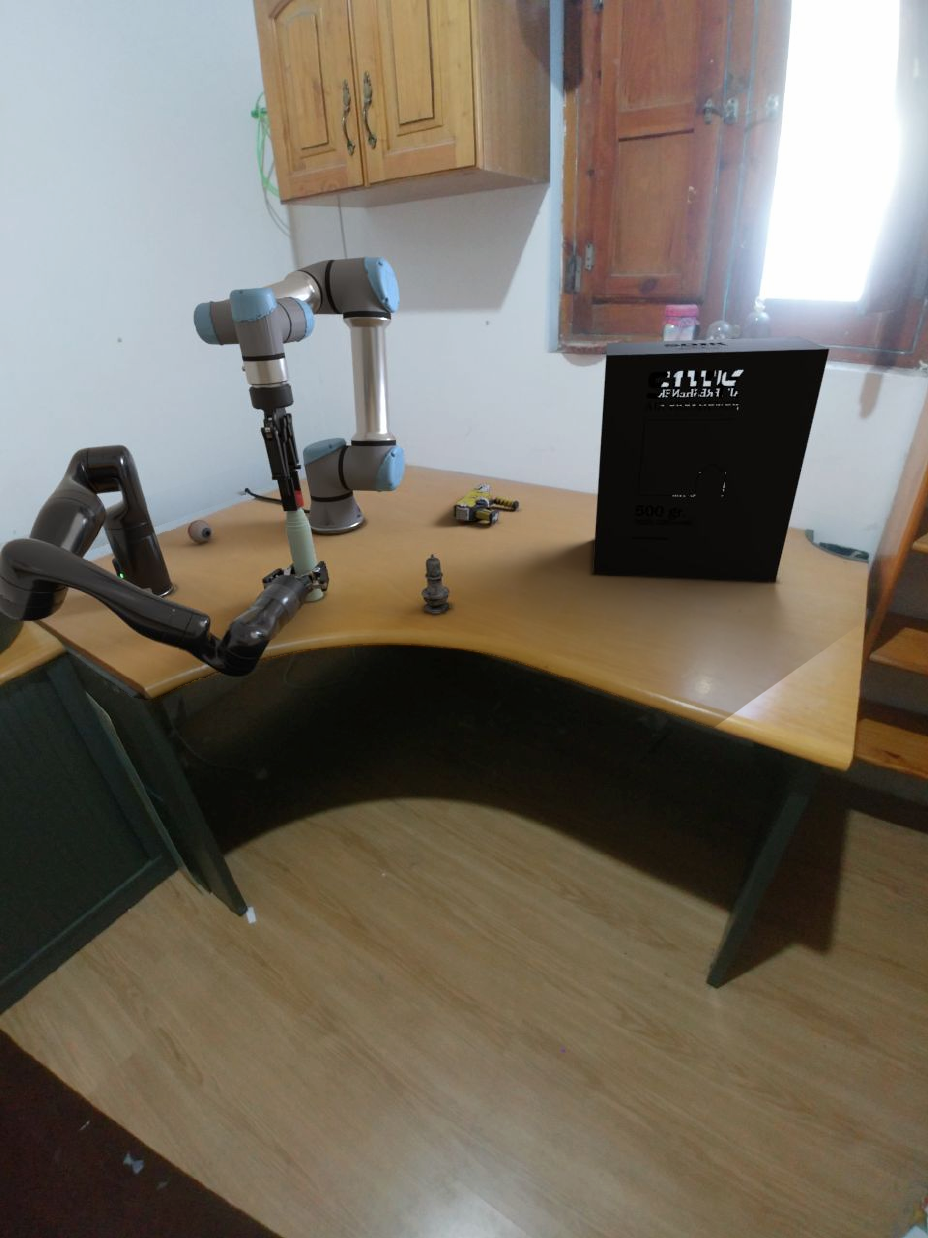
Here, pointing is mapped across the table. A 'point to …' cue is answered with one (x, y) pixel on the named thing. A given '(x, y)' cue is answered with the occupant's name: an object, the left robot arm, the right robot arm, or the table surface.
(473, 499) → the toy gun
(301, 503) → the cap
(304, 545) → the bottle
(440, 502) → the table surface
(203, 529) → the eyeball
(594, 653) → the table surface
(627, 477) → the cardboard box
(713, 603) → the table surface
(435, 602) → the grey tiered upright piece
